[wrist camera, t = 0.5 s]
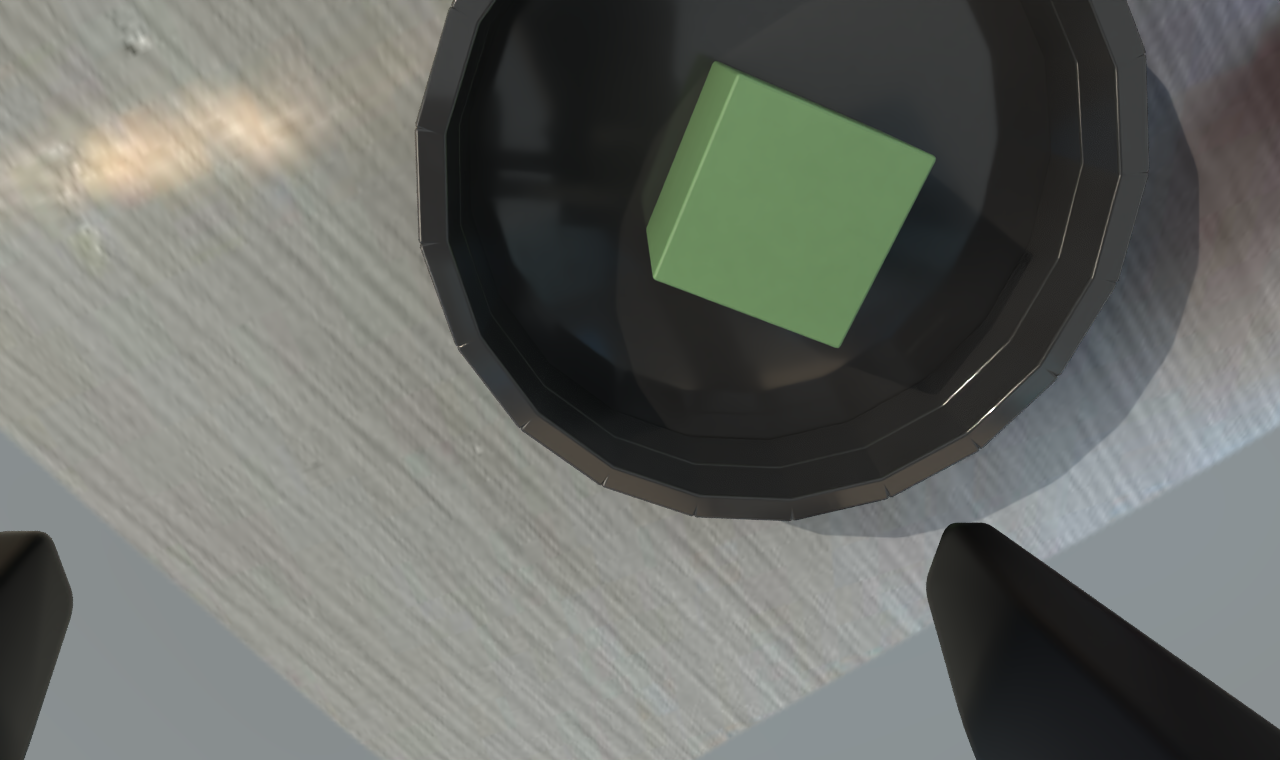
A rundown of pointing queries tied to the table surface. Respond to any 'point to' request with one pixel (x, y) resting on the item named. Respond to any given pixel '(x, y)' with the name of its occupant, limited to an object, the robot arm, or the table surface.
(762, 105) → the block
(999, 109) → the pan
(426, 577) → the table surface
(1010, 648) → the robot arm
